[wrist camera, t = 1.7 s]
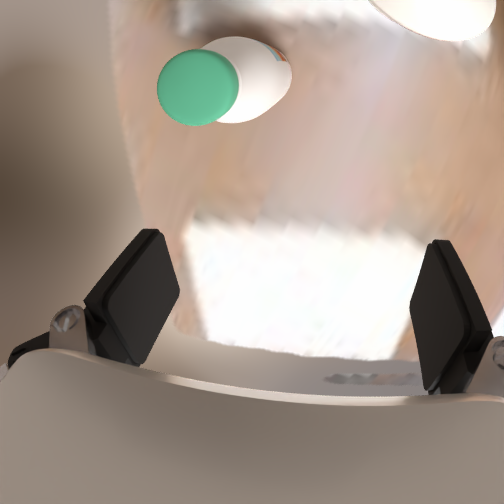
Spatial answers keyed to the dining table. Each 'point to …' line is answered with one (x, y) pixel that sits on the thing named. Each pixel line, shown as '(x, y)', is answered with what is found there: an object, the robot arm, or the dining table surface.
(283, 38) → the dining table surface
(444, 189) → the dining table surface
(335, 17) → the dining table surface
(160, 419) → the robot arm
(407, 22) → the cake stand
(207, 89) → the milk bottle
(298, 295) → the dining table surface
